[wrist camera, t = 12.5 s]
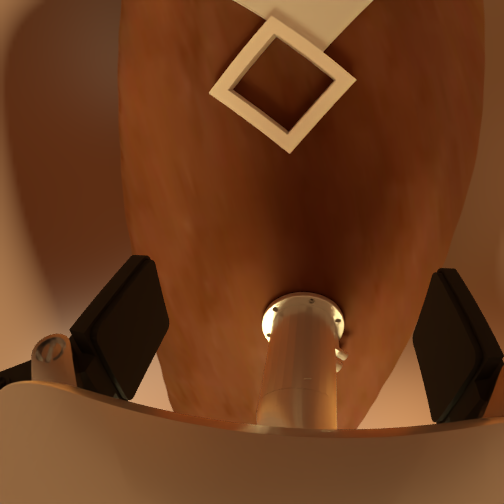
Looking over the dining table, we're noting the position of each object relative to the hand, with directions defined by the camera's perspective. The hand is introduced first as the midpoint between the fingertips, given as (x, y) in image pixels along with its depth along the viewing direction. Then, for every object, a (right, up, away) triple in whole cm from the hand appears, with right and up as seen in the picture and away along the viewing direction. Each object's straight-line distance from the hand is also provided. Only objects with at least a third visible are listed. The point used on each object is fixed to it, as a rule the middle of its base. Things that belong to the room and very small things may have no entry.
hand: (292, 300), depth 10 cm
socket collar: (+2, +20, +21) cm, 29 cm away
